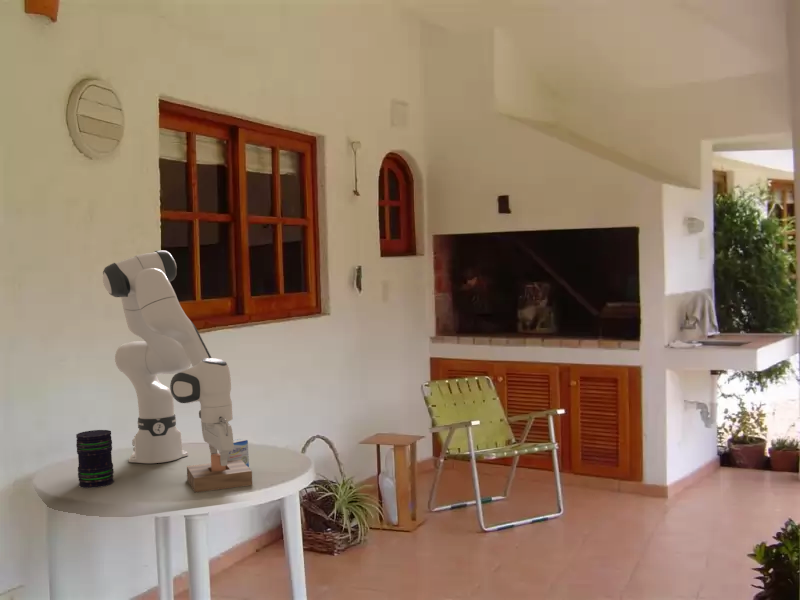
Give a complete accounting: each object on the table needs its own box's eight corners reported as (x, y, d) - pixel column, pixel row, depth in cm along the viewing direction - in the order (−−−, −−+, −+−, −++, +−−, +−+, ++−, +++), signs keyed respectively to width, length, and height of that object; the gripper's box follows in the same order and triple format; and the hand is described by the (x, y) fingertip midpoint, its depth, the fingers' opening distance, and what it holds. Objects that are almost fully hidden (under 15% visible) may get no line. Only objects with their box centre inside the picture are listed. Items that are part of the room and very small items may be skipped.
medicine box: (228, 472, 254) (227, 444, 254) (219, 470, 257) (218, 442, 257) (249, 467, 260) (248, 439, 260) (240, 465, 263) (239, 438, 263)
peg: (209, 482, 243) (207, 455, 243) (220, 479, 246) (219, 452, 246) (217, 484, 240) (216, 457, 240) (229, 481, 243) (227, 454, 243)
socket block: (187, 479, 248) (186, 466, 248) (241, 472, 253) (241, 459, 253) (195, 492, 233) (194, 478, 233) (252, 485, 239) (251, 471, 238)
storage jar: (100, 477, 254) (98, 428, 253) (121, 481, 248) (118, 431, 248) (71, 485, 246) (68, 434, 245) (91, 489, 240) (89, 437, 239)
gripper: (237, 418, 235) (240, 467, 235) (218, 408, 253) (220, 454, 253) (215, 421, 232) (218, 471, 232) (197, 411, 250) (199, 457, 251)
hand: (219, 462), depth 243 cm, fingers open, 8 cm apart
